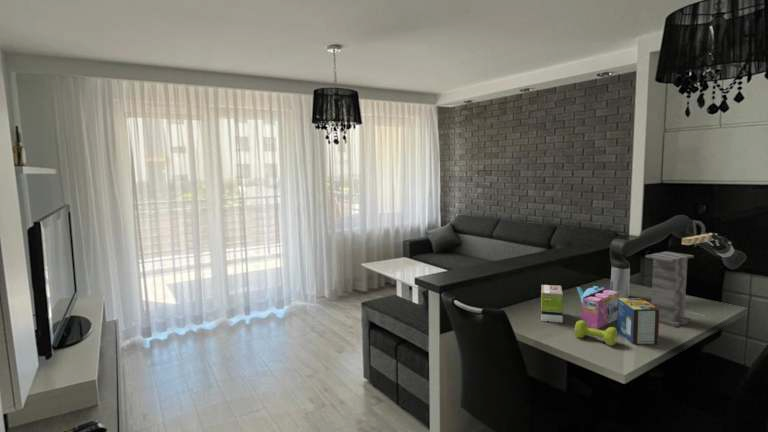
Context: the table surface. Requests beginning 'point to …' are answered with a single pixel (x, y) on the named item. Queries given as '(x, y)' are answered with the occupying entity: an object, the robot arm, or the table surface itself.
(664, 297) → the pedestal shelf
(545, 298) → the tea box
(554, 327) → the table surface
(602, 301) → the gum box
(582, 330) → the dumbbell
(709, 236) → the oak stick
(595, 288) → the teapot
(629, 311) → the protein box
